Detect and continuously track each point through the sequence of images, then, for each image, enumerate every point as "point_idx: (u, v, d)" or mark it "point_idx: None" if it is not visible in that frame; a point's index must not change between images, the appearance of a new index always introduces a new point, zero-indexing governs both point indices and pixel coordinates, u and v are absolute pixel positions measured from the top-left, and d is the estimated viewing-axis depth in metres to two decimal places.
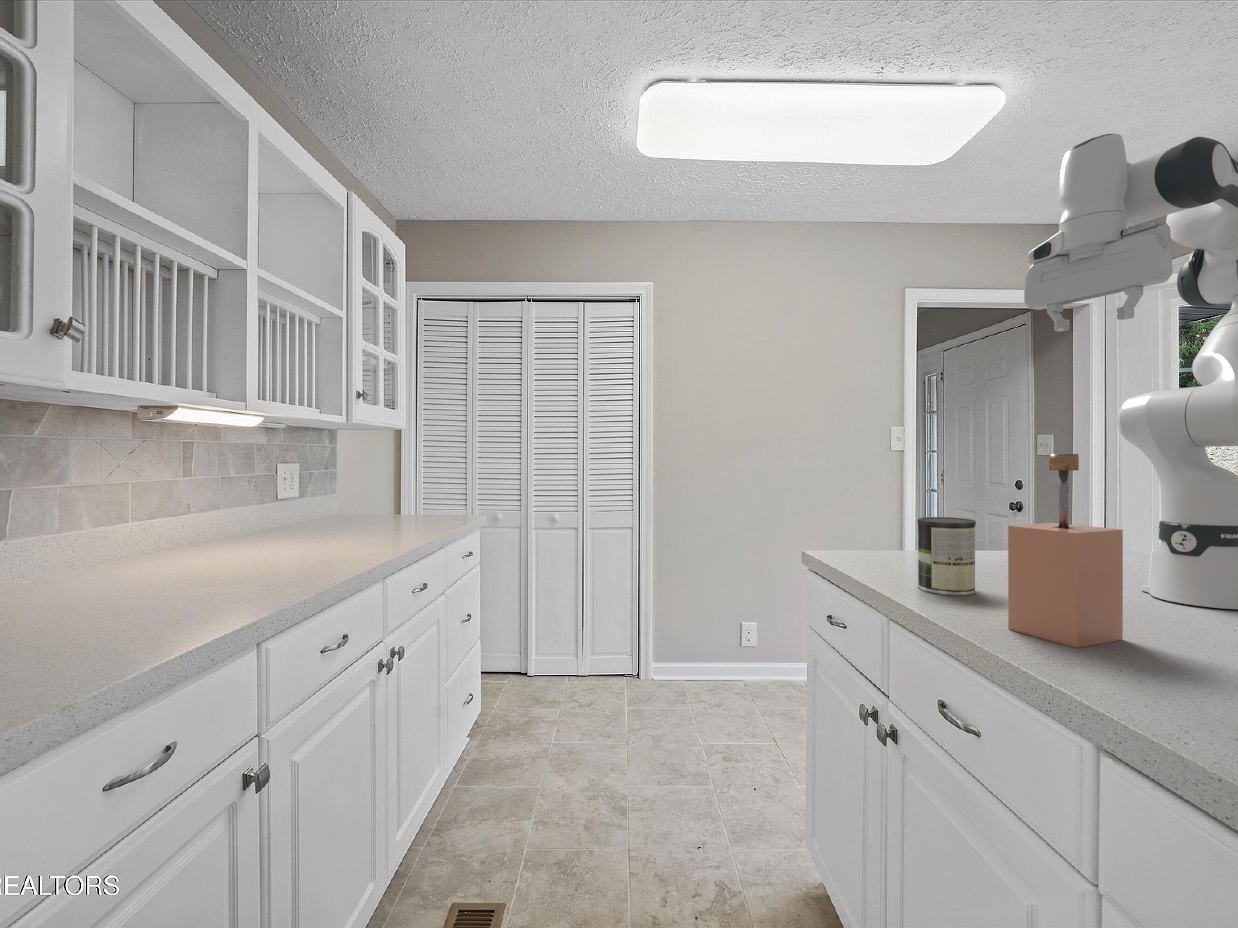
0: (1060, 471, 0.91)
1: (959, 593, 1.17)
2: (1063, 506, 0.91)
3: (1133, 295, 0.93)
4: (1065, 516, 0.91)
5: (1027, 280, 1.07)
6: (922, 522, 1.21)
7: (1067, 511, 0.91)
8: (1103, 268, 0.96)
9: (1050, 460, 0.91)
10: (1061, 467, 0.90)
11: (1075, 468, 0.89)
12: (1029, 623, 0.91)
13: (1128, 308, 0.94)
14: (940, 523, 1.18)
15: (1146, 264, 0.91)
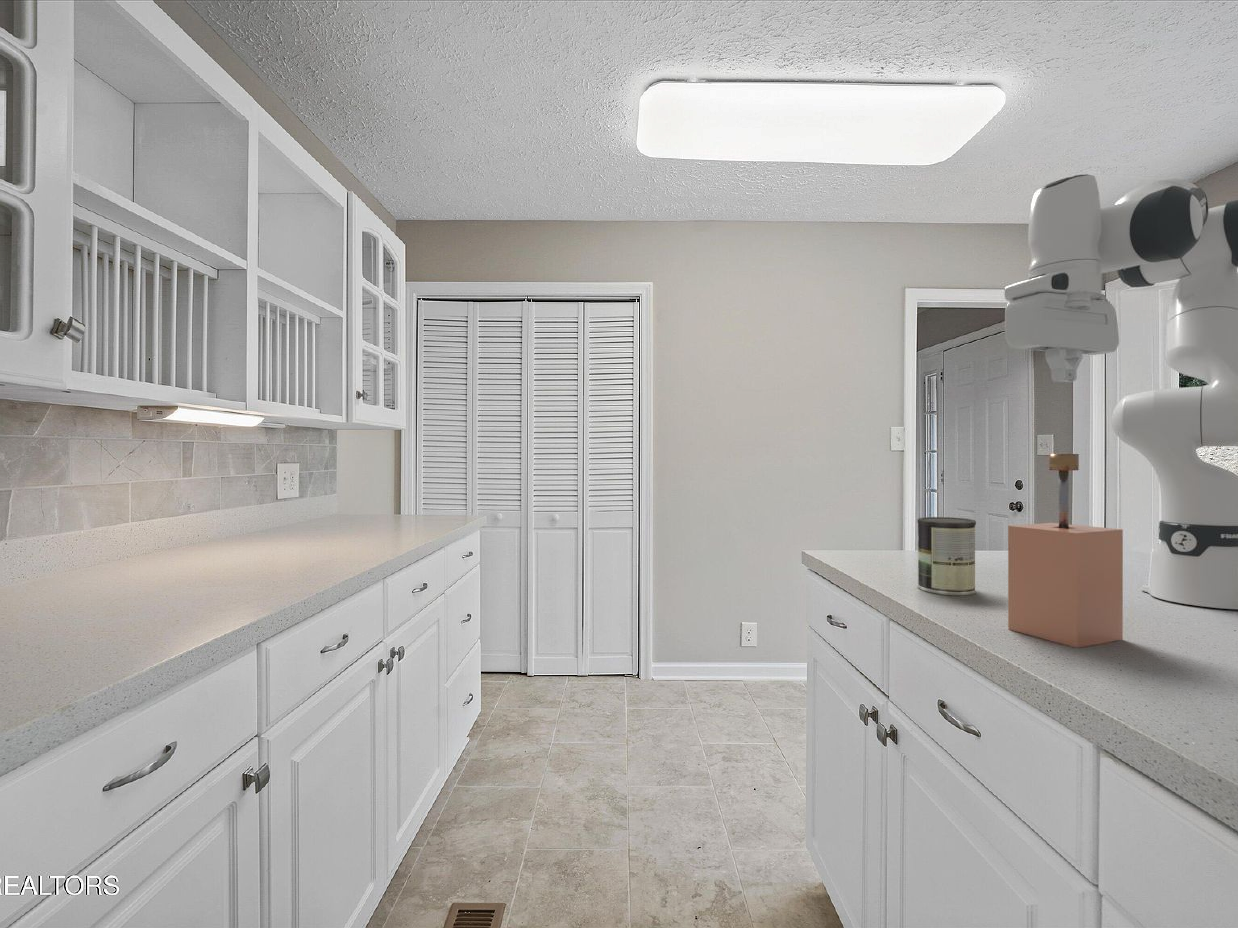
0: (1060, 471, 0.91)
1: (959, 593, 1.17)
2: (1063, 506, 0.91)
3: (1080, 359, 0.91)
4: (1065, 516, 0.91)
5: (1037, 309, 0.85)
6: (922, 522, 1.21)
7: (1067, 511, 0.91)
8: (1088, 325, 0.90)
9: (1050, 460, 0.91)
10: (1061, 467, 0.90)
11: (1075, 468, 0.89)
12: (1029, 623, 0.91)
13: None
14: (940, 523, 1.18)
15: (1113, 334, 0.92)
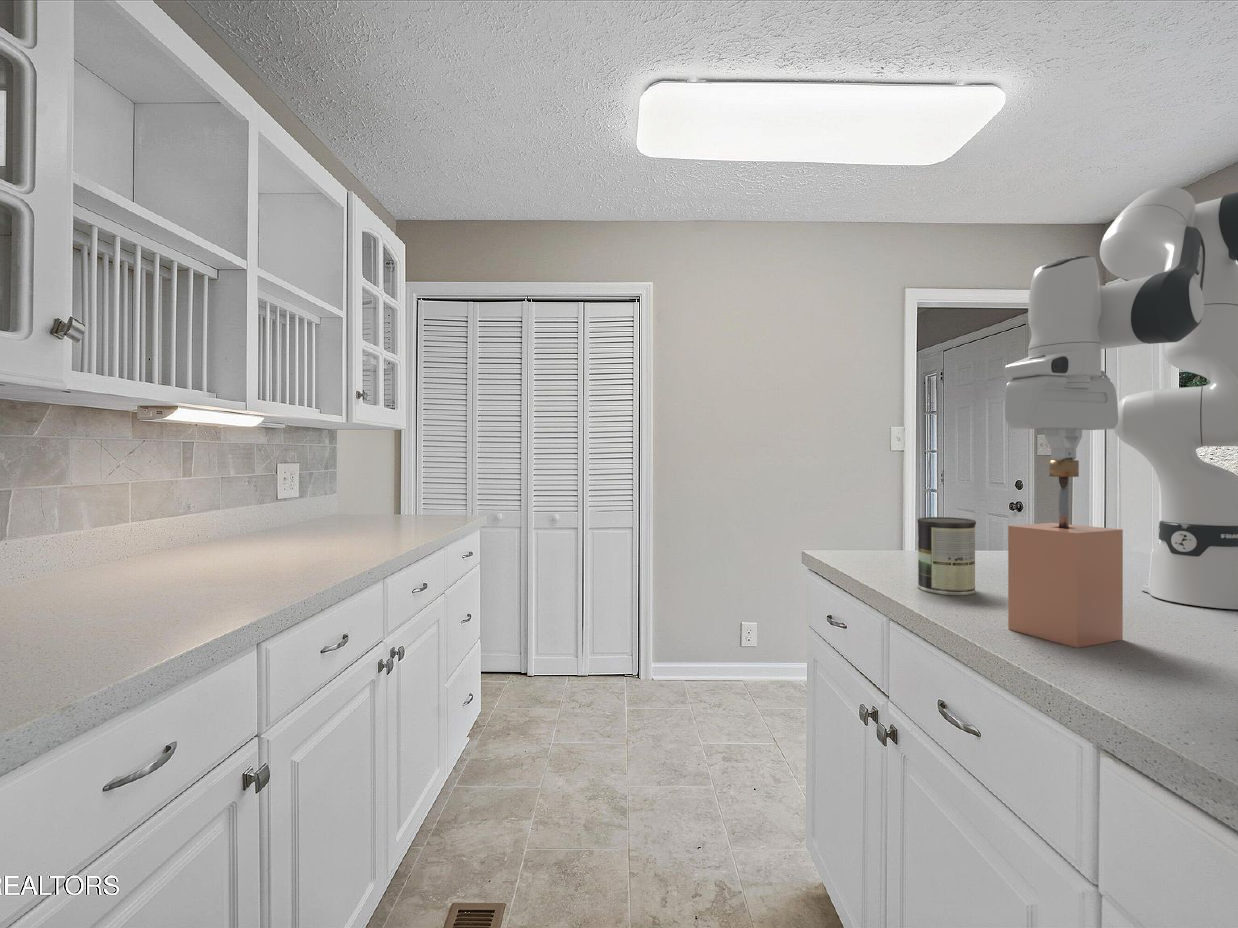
0: (1060, 477, 0.91)
1: (959, 593, 1.17)
2: (1063, 512, 0.91)
3: (1080, 438, 0.91)
4: (1065, 522, 0.91)
5: (1037, 393, 0.86)
6: (922, 522, 1.21)
7: (1067, 517, 0.91)
8: (1088, 404, 0.90)
9: (1050, 466, 0.91)
10: (1061, 474, 0.90)
11: (1075, 474, 0.89)
12: (1029, 623, 0.91)
13: None
14: (940, 523, 1.18)
15: (1113, 412, 0.92)
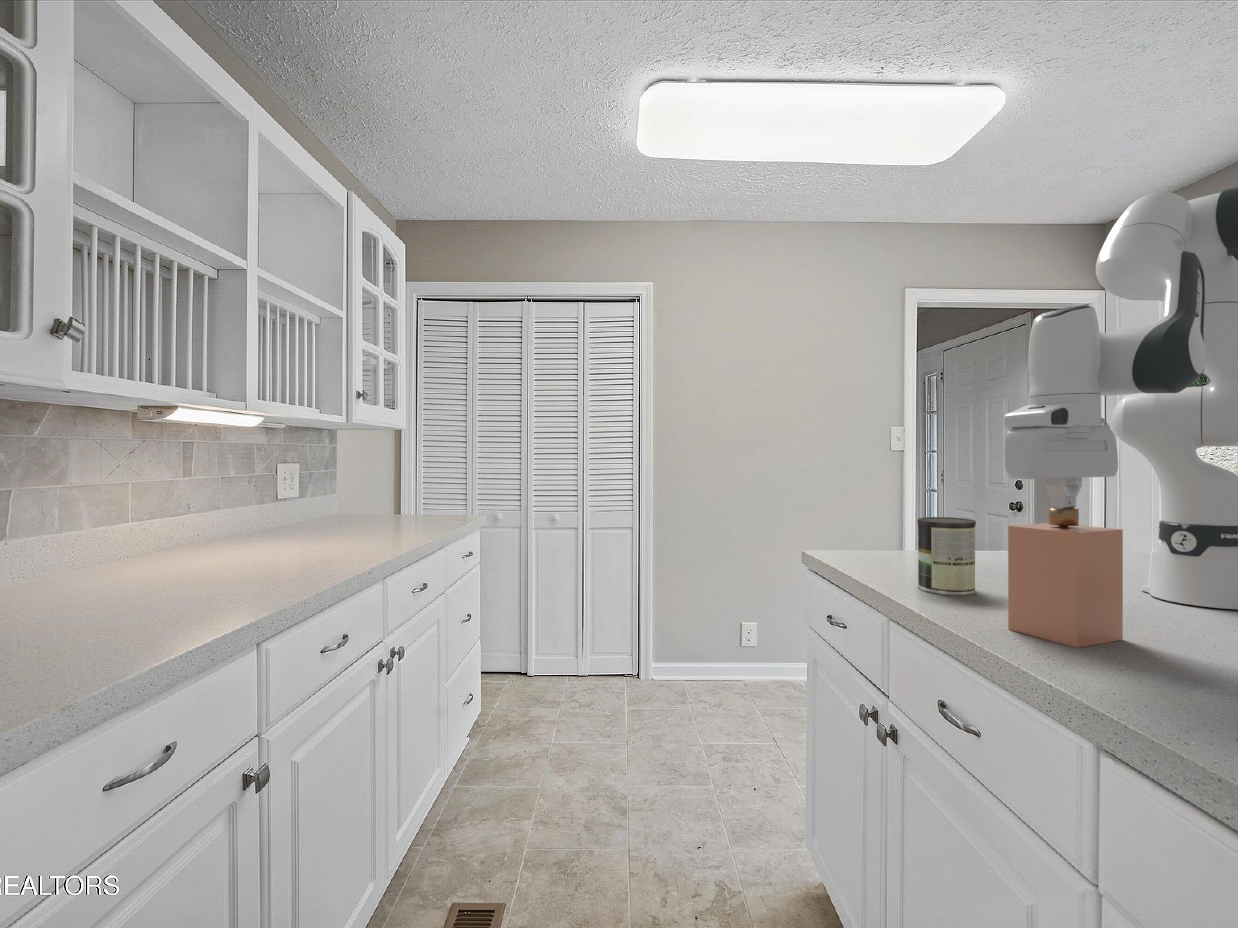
0: (1060, 526, 0.91)
1: (959, 593, 1.17)
2: None
3: (1080, 487, 0.91)
4: None
5: (1037, 445, 0.86)
6: (922, 522, 1.21)
7: None
8: (1087, 453, 0.90)
9: (1050, 514, 0.92)
10: (1061, 523, 0.90)
11: (1075, 524, 0.89)
12: (1029, 623, 0.91)
13: None
14: (940, 523, 1.18)
15: (1112, 460, 0.92)
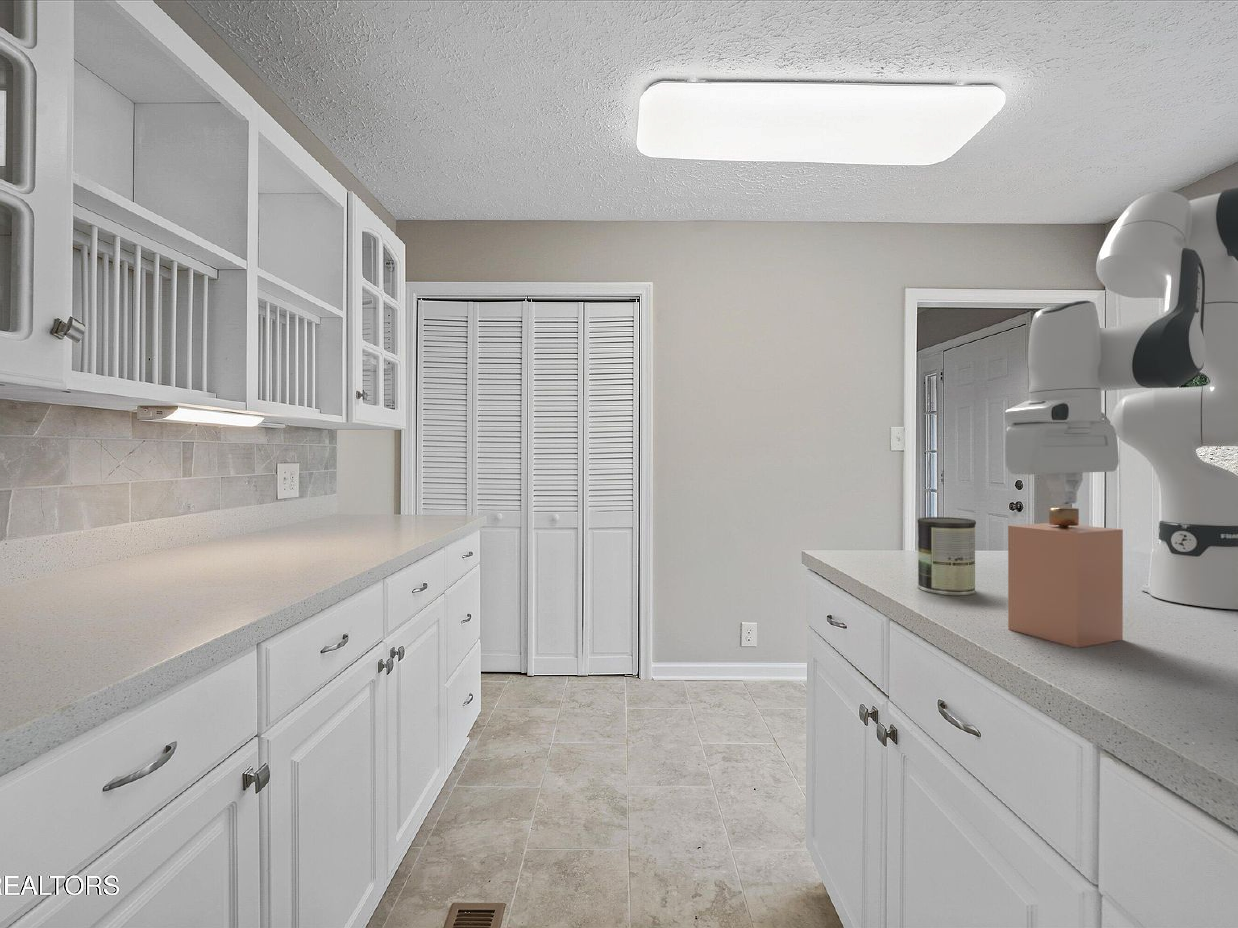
0: (1060, 525, 0.91)
1: (959, 593, 1.17)
2: None
3: (1080, 482, 0.91)
4: None
5: (1037, 440, 0.86)
6: (922, 522, 1.21)
7: None
8: (1088, 448, 0.90)
9: (1050, 514, 0.92)
10: (1061, 522, 0.90)
11: (1075, 523, 0.89)
12: (1029, 623, 0.91)
13: None
14: (940, 523, 1.18)
15: (1113, 455, 0.92)
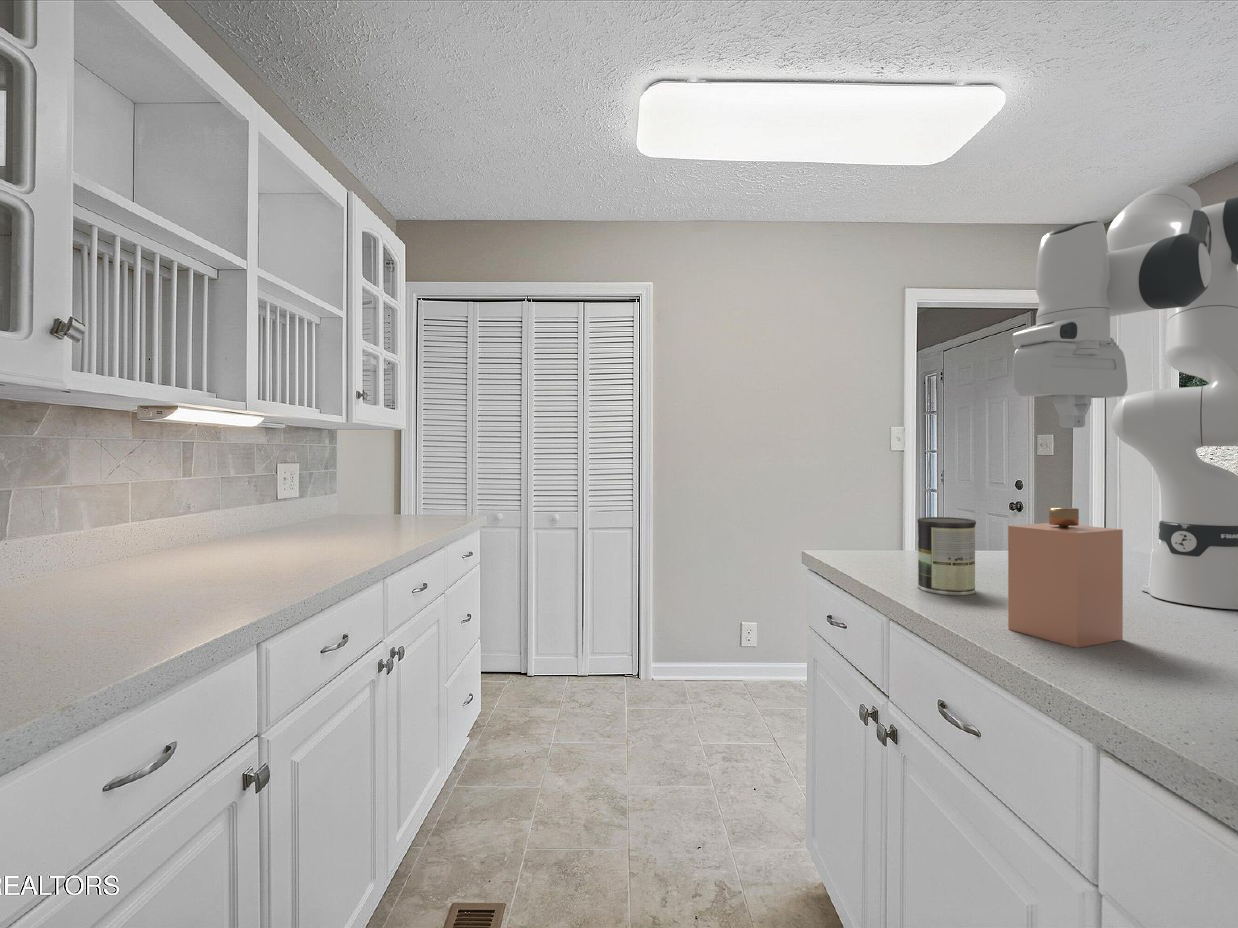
0: (1060, 525, 0.91)
1: (959, 593, 1.17)
2: None
3: (1089, 405, 0.91)
4: None
5: (1046, 359, 0.85)
6: (922, 522, 1.21)
7: None
8: (1097, 371, 0.90)
9: (1050, 514, 0.92)
10: (1061, 522, 0.90)
11: (1075, 523, 0.89)
12: (1029, 623, 0.91)
13: None
14: (940, 523, 1.18)
15: (1122, 379, 0.92)
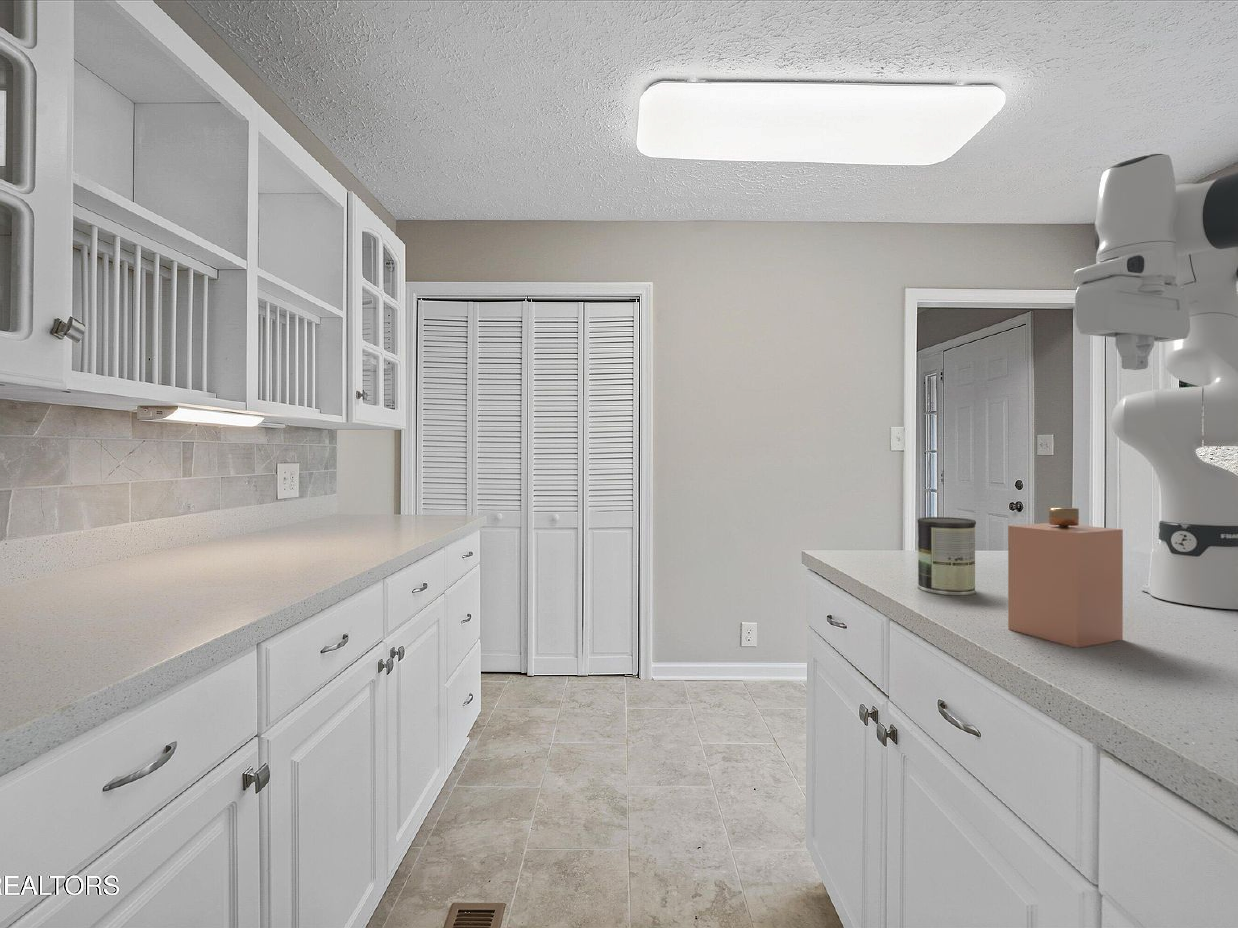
0: (1060, 525, 0.91)
1: (959, 593, 1.17)
2: None
3: (1152, 346, 0.87)
4: None
5: (1112, 293, 0.82)
6: (922, 522, 1.21)
7: None
8: (1161, 310, 0.87)
9: (1050, 514, 0.92)
10: (1061, 522, 0.90)
11: (1075, 523, 0.89)
12: (1029, 623, 0.91)
13: None
14: (940, 523, 1.18)
15: (1185, 320, 0.89)
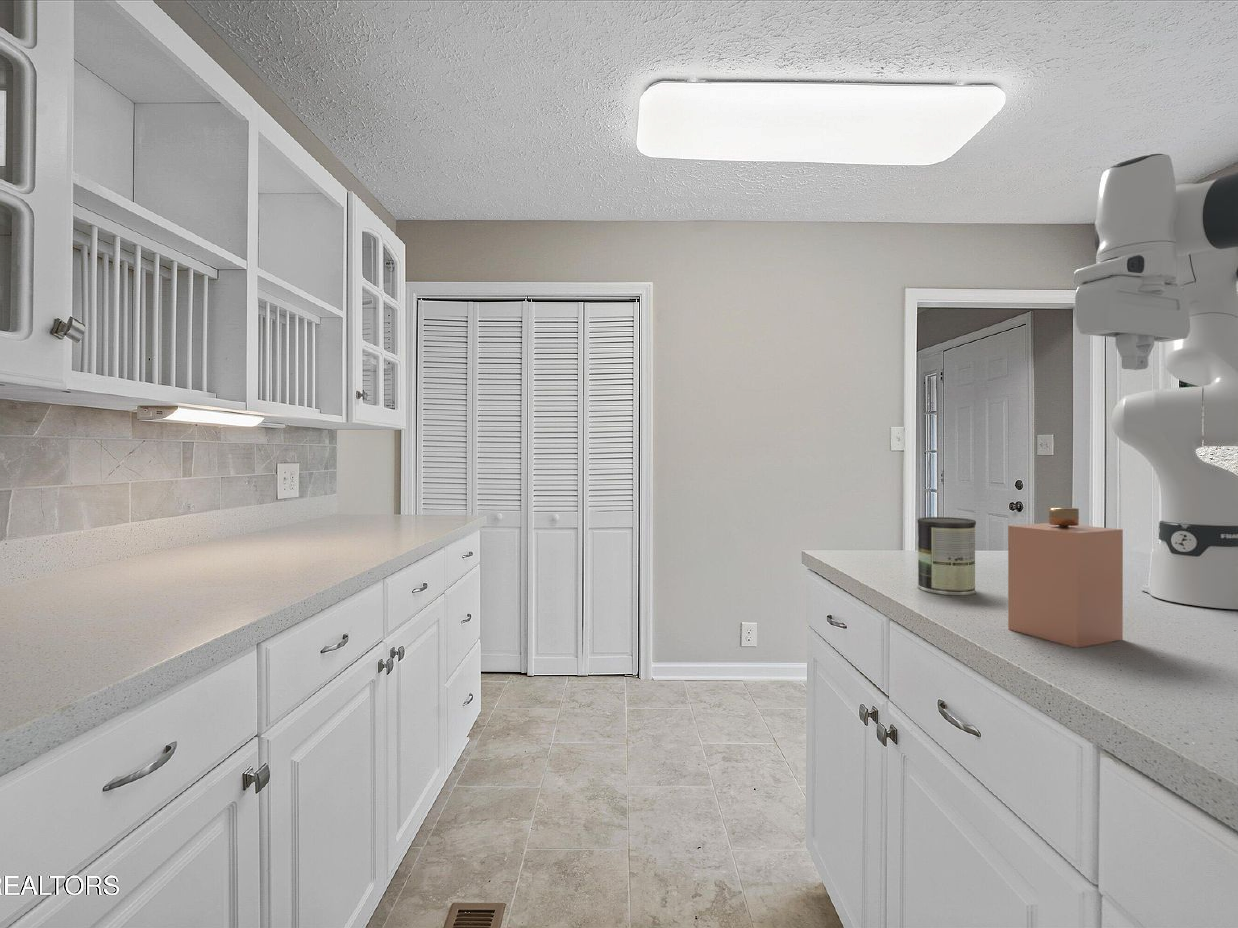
0: (1060, 525, 0.91)
1: (959, 593, 1.17)
2: None
3: (1152, 346, 0.87)
4: None
5: (1112, 293, 0.82)
6: (922, 522, 1.21)
7: None
8: (1161, 310, 0.87)
9: (1050, 514, 0.92)
10: (1061, 522, 0.90)
11: (1075, 523, 0.89)
12: (1029, 623, 0.91)
13: None
14: (940, 523, 1.18)
15: (1185, 320, 0.89)
